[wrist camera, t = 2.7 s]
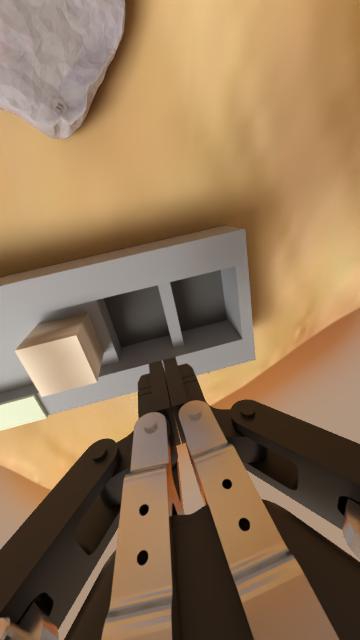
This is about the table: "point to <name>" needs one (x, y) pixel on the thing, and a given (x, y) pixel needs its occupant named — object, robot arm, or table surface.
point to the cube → (62, 354)
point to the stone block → (56, 58)
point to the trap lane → (131, 315)
